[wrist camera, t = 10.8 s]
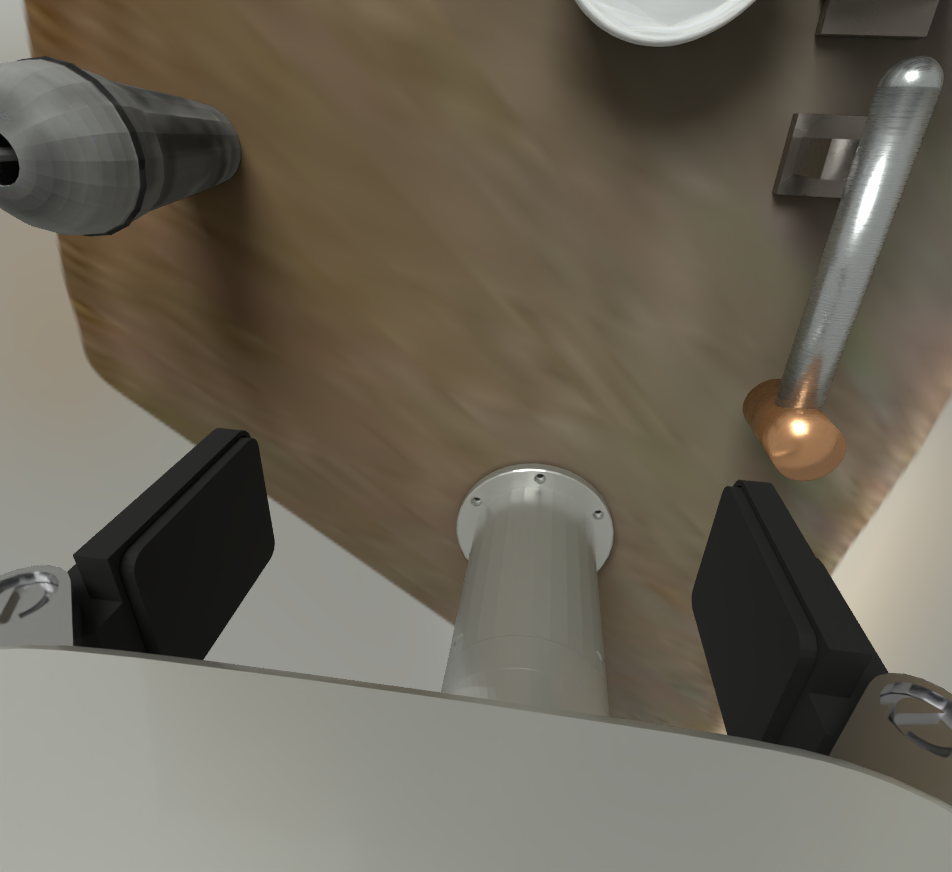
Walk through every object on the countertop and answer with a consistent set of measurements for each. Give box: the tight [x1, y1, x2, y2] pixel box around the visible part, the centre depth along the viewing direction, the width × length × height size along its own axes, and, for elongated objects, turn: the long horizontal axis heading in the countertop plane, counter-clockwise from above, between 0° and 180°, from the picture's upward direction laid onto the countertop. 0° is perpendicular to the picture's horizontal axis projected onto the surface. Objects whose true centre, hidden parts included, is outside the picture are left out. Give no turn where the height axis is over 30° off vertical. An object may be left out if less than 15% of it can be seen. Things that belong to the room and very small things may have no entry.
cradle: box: [772, 114, 868, 198], centre depth 30 cm, size 4×5×5 cm
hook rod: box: [743, 56, 944, 481], centre depth 29 cm, size 20×4×6 cm, turn 178°
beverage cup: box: [0, 56, 241, 236], centre depth 27 cm, size 7×7×20 cm
